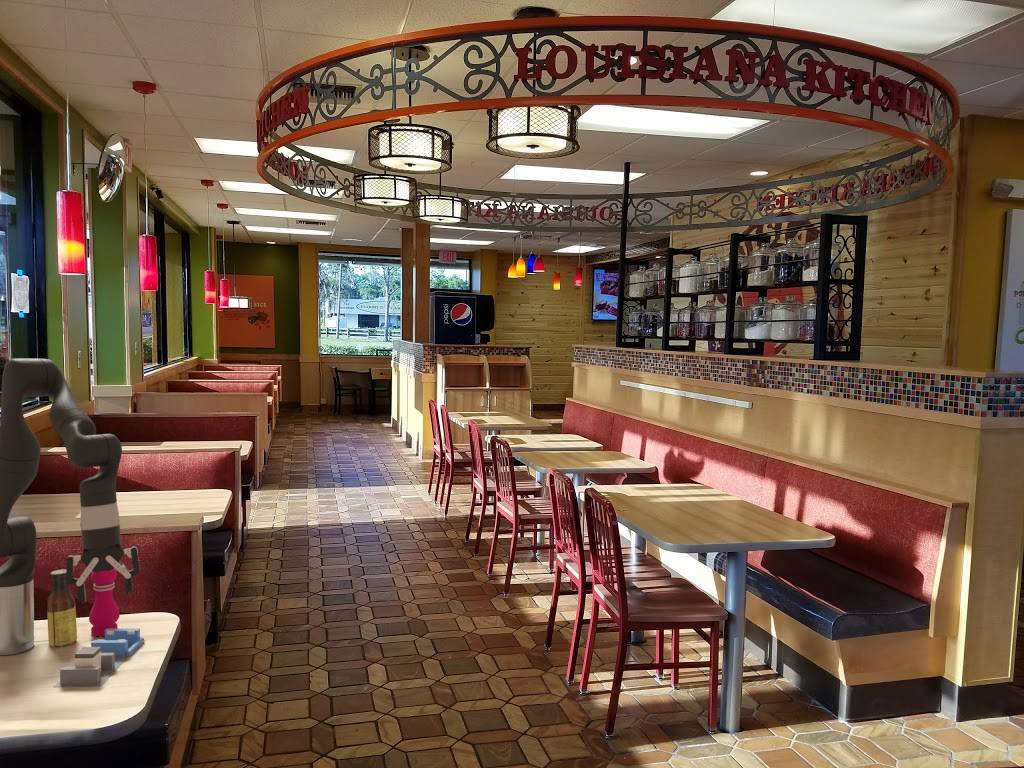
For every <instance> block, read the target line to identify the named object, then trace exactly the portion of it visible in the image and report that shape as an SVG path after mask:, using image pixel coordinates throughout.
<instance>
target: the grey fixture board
mask: <svg viewBox="0 0 1024 768" xmlns="http://www.w3.org/2000/svg"><path fill="white" fill-rule="evenodd" d="M145 642H146V640H145V636H141V629H140V628H137V627H136V628H135V627H134V628H127V627H126V628H118V629H106V630H105V637H104V639H95V640H92V641H91V642H90V647H101V673H100V666H95V667H75V666H63V667H62V668H60V669H59V677H60V678H59V681H58V682H57V683H56V684H55V685H54V686H53V688H95V687H99V688H101V686H102V685H103V684H105V683H106V681H107V680H108V679H109V678H111V677H112V675H114V673H115V672H116V671H117V670H118V669H119V668H120V667H121V666H122V665H123V664H124V663H125V662H126V661H127V660H128V659H129V658H130V657H131V655H133V654H134V653H135V652H136V650H138V649H139V647H141V646H142V644H144V643H145Z"/></svg>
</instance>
